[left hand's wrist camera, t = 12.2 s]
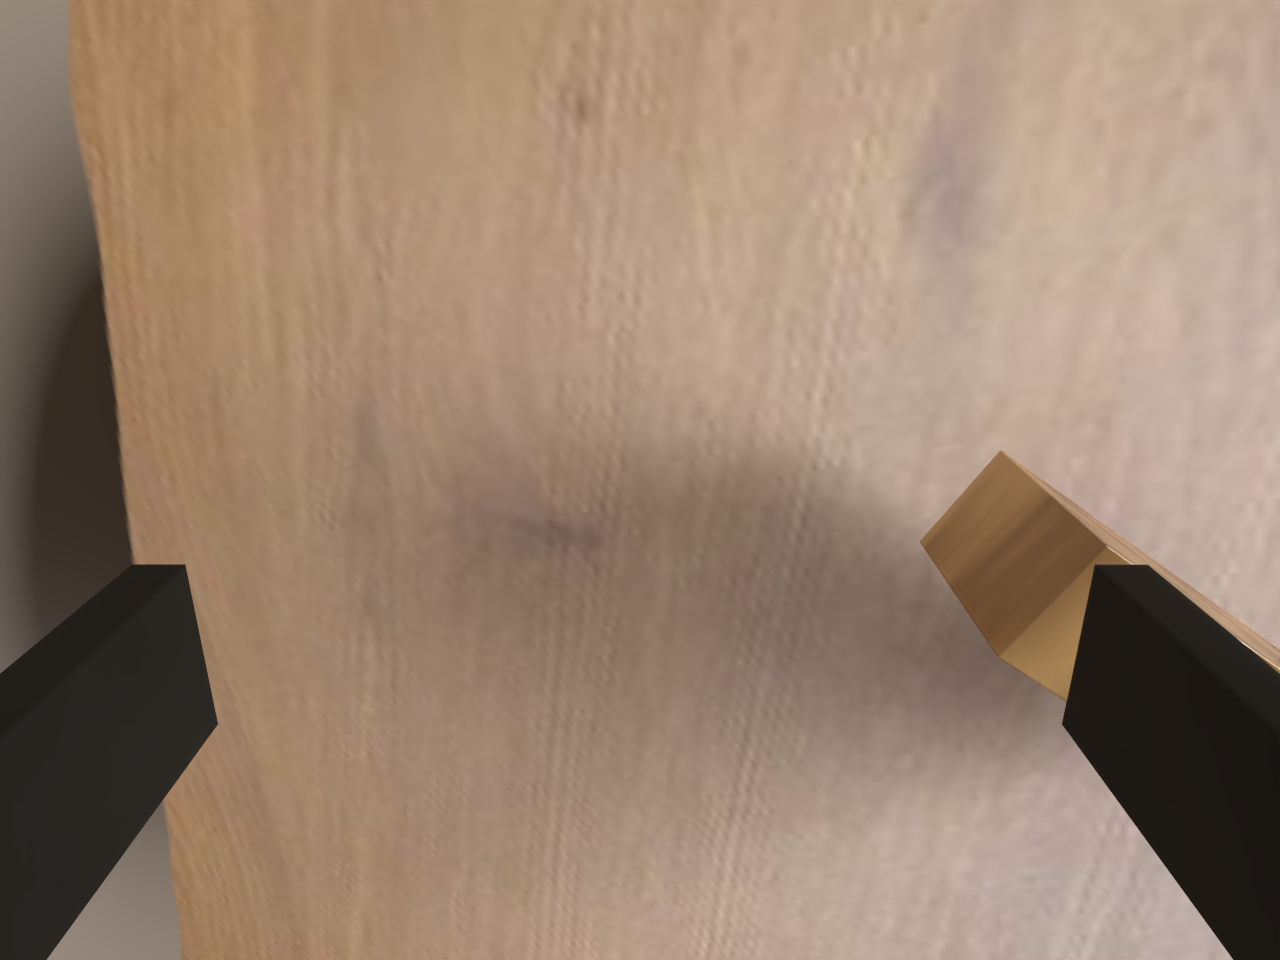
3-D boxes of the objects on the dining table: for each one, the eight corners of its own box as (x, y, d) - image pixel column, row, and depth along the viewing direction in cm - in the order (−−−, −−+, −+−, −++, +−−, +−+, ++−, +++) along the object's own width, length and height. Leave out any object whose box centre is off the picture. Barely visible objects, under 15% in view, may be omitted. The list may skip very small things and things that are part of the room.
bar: (918, 541, 38) (996, 657, 29) (1000, 449, 36) (1107, 545, 28) (1263, 772, 42) (1415, 928, 34) (1348, 699, 41) (1529, 844, 32)
